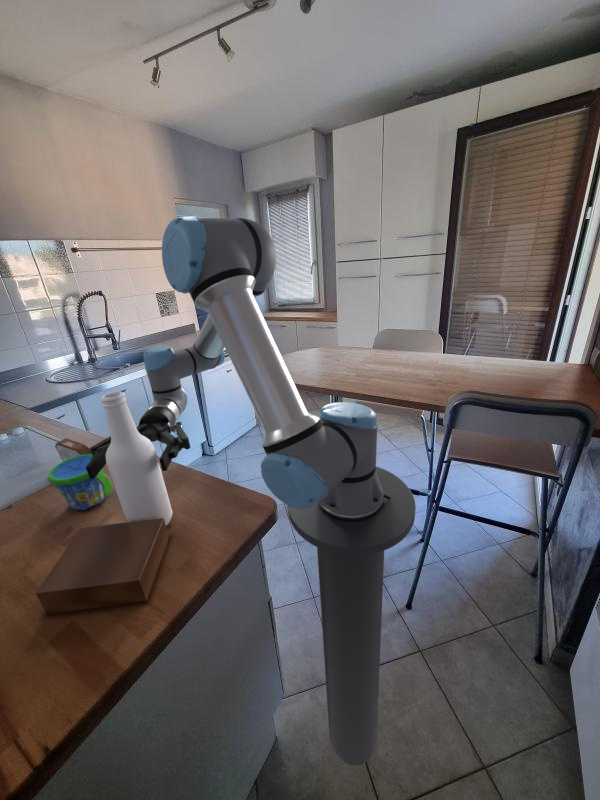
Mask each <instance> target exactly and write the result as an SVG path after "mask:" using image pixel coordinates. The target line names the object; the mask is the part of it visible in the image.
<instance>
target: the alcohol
mask: <svg viewBox="0 0 600 800" xmlns="http://www.w3.org/2000/svg"><path fill="white" fill-rule="evenodd" d="M99 400H100V401H101V402H102V403H101V405H102V407H103V409H104V414H105V417H106V422H107V426H108V430H109V435H110V436H111V444H110V446H109V447H108V449H107V452H106V466H107V469H108V472H109V475H110V477H111V480H112V484H113V487H114V488H115V491H116V494H117V497H118V500H119V502H120V506H121V508H122V511H123V515H124V517H125V519H126V520H125V521H126V523H127V522H135V521H144V520H152V519H161V518H164V521H165V524H166V527H167V526H168V525H169V523H170V522H171V519H172V518H173V509H172V505H171V502H170V498H169V495H168V491H167V487H166V483H165V480H164V476H163V471H162V468H161V464H160V461H159V458H158V455H157V451H156V448H155V445H154V444H153V442H151V441H150V440H149V439H148V438H146V437H145V436H143V435H141V434H140V433H139V432H138V430H137V428H136V427H137V425H136V423H135V421H134V418H133V415H132V413H131V410H130V408H129V406H128V403H127V402H128V400H127V398H126V394H125V392H124V391H123V392H122V391H111V392H108V393H105V394H103V395H102V396H101V397H100V399H99Z"/></svg>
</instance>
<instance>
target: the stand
mask: <svg viewBox="0 0 600 800" xmlns="http://www.w3.org/2000/svg"><path fill="white" fill-rule="evenodd" d="M169 539H170V535H169V531H168V528H167V526H166V524H165V521H164V518H161V519H152V520H144V521H135V522H127V521H126V522H119V523H111V524H102V525H94V526H86V527H80V529H79V530H78V531H77V533H76V534H75V536H74V537H73V539H72V540H71V541H70V543H69V544H68V546H67V547H66V548H65V550H64V551H63V553H62V554H61V555H60V557H59V558H58V560H57V561H56V563H55V564H54V566H53V567H52V569H51V570H50V572H49V573H48V575H47V576H46V577H45V579H44V581H43V582H42V583H41V585H40V586H39V588H38V589H37V590H36V592H35V595H36V598H37V599H38V601H39V603H40V604H41V606H42V608H43V610H44V612H45V613H46V615H52V614H58V613H59V614H60V613H68V612H75V611H82V610H83V611H84V610H90V609H99V608H107V607H112V606H113V607H114V606H121V605H128V604H137V603H144V602H147V601H148V598H149V596H150V594H151V590H152V587H153V585H154V582H155V579H156V576H157V573H158V570H159V567H160V565H161V561H162V559H163V556H164V554H165V551H166V548H167V546H168V545H167V544H168V542H169Z"/></svg>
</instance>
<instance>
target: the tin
mask: <svg viewBox="0 0 600 800" xmlns="http://www.w3.org/2000/svg"><path fill="white" fill-rule="evenodd" d="M54 448H55V450H56V452H57V453H58V455H59V458H60V459H61V461H62V462H63V461H65V460H67V459H70V458H72V457H76V456H80V455H85V454H92V453H91V450H90V448H91V447H89V446H88V445H86V444H85V443H83V442H79V441H76V440H73V439H71V438H67V437H65V438H63V439H62V440H59V441H58V442H56V443H55V446H54Z"/></svg>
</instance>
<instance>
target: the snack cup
mask: <svg viewBox="0 0 600 800" xmlns="http://www.w3.org/2000/svg"><path fill="white" fill-rule="evenodd" d="M92 457H93V456H92V454H85V455H80V456H76V457H72V458H70V459H67V460H65V461H63V460H62V461H61V462H60V463H58V464H56V465H55V466H54V467H53V468H51V470H50V471H49V473H48V480H49V482H50V483H52V484H53V485H54V487H56V488H57V490H58V491H59V493H60V494H61V496H62V498H64V500H65V502H66V503H67V504H68V506H69V507H70V508H71V509H72V510H74V511H86V510H88V509H91V508H94V507H96V506H97V505H98V504H102V502H103V500H104V499H105V498H106V497H109V495H111V493H112V492H113V490H114V484H113V482H111V480H110V478H109V477H108V476H107V474H106V472H105V471H104V470H103V468H102V469H101V471H100V472H99V473H98V474H97V476H96V477H95V478H94V479H90V477H89V475H88V472H87V470H86V466H87V465H88V464H89V463H90V462H91V461H90V459H91V458H92Z"/></svg>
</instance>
